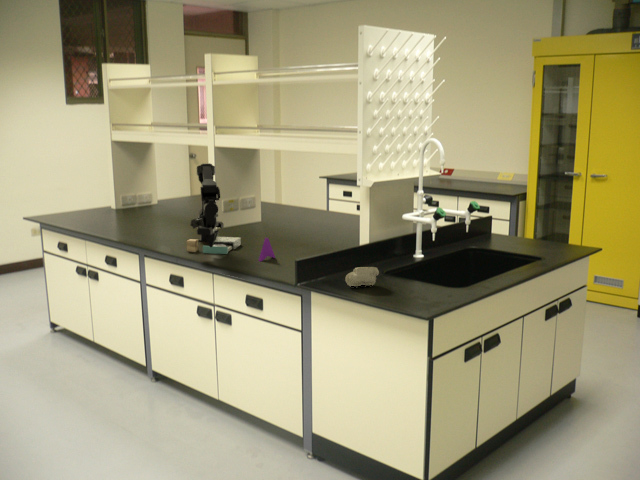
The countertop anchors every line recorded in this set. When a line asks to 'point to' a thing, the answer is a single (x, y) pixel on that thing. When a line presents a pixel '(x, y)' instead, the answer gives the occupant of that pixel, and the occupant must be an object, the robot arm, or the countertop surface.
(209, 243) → the robot arm
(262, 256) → the arrowhead
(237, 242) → the block
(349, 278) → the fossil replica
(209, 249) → the tray
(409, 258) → the countertop surface
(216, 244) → the disc
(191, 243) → the beech block
